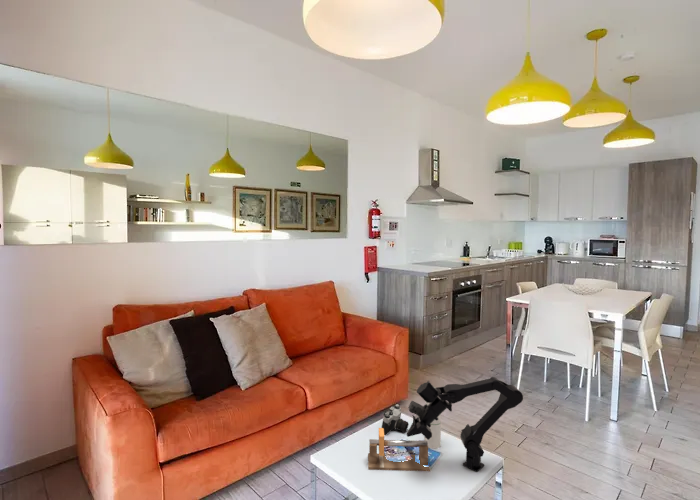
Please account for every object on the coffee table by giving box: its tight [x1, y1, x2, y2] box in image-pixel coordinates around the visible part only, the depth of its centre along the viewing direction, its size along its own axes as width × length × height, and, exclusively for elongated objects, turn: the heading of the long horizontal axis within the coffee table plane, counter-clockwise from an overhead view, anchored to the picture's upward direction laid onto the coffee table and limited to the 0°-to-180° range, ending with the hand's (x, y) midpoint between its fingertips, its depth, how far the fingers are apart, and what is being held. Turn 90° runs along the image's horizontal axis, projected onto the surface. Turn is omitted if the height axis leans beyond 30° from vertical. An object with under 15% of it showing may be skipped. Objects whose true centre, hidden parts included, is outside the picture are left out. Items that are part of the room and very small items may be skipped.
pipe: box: [370, 439, 428, 448], centre depth 160 cm, size 24×2×2 cm, turn 88°
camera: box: [381, 403, 410, 436], centre depth 187 cm, size 15×11×10 cm
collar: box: [378, 427, 385, 456], centre depth 160 cm, size 2×7×8 cm, turn 178°
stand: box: [367, 438, 431, 472], centre depth 160 cm, size 25×10×8 cm, turn 88°
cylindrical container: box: [424, 400, 442, 450], centre depth 175 cm, size 7×7×25 cm
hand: (407, 435), depth 160 cm, fingers closed
